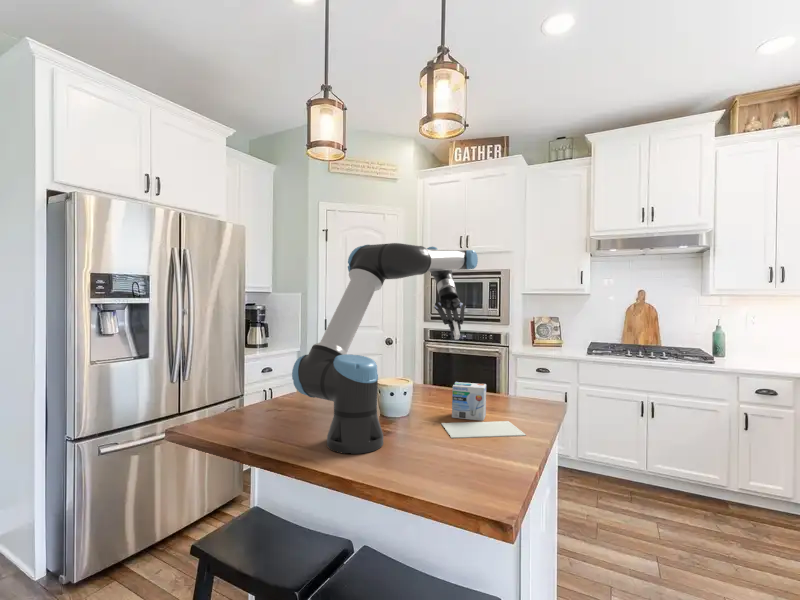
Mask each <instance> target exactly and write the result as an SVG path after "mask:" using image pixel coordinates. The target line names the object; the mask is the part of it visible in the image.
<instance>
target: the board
mask: <svg viewBox="0 0 800 600" xmlns="http://www.w3.org/2000/svg"><path fill="white" fill-rule="evenodd" d="M441 426H442V428H445V429H444V430H445V431H446V433H447V434H448V435H450V436H449V437H450V438H451V439H465V438H466V439H467V438H496V437H497V438H498V437H523V436H524V437H525V436H527V435H526V433H525V432H523V431H522V430H521V429H520V428H518V427H517V426H515V425H514V424H513V423H512V422H510V421H509V420H504V421H500V420H498V421H497V420H496V421H469V422H466V421H465V422H464V421H463V422H441Z"/></svg>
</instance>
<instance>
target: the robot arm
mask: <svg viewBox="0 0 800 600" xmlns="http://www.w3.org/2000/svg"><path fill="white" fill-rule="evenodd" d="M478 258H479V257H478V254H477V252H476V251H475V250H473V249H463V250H462V249H461V250H460V249H438V248H437V247H435V246H429V247H427V248H426V247H425V246H423V245H414V244H407V243H399V242H391V243H378V244H377V243H376V244H364V245H360V246H358V247H356V248H354V249H353V250H352V251H351V252H350V255H348V259H347V270H348V278H349V279H350V280H349V283H348V285H347V287H346V288H345V291H344V293H343V294H342V296H341V298H340V300H339V303H338V305H337V307H336V309H335V312H334V313H333V315H332V317H331V319H330V322H329V323H328V325H327V328H326V329H325V332H324V334H323V336H322V337H321V339H320V342H318V343H313V345H312V346H311V348H310V350H309V352H308V354H304V355H302V356H300V357H298V358H297V359H296V361H295V362H294V364H293V366H292V372H291V379H292V380H293V386H294V388H295V389H296V390H297V391H298V393H300V394H301V395H303V396H307V397H308V398H312V399H313V398H316V399H320V400H326V401H329V402H333V417H332V420H331V423H330V427H329V430H328V433H327V435H326V446H328V447H329V448H330V449H329V448H328V447H327V448H328V449H329V450H331V449H332V450H331V451H333V450H335V451H338V452H337V453H339V452H342V453H341V454H345V453H351V454H350V455H359V454H367V453H370V452H375V451H377V450H379V449H380V448H382V447H383V446H384V433H383V429H382V426H381V423H380V420H379V417H378V387H379V385H378V383H379V382H378V381H379V373H378V365H377V363H376V362H375V360H374V359H373V358H370V357H367V356H364V355H358V354H347V353H348V352H349V349H350V347H351V344H352V342H353V340H354V338H355V335H356V333H357V331H358V329H359V327H360V324H361V322H362V321H363V317H364V316H365V314H366V311H367V309H368V307H369V305H370V302H371V300H372V298H373V296H374V294H375V292H377V291H379V290H381V289H382V288H383V285H384V282H385V281H386V280H398V279H404V278H408V277H409V278H410V277H413V276H420V275H421V276H422V275H424V274H426V273H427V272H430V274H431V275H432V277H433V279H434V281H435V283H436V284H435V285H436V289H437V295H438V299H439V302H435V303H434V310H435V311H437V313H438V314H439V317H440V319H441V321H442V322H443V325H446V326H447V325H448V327H449V330H450V332H452V333H453V336H454V337H453V339H454V340H459V339H460V337H461V333H460V332H461V329H462V327H461V325H463V324H464V321H465V309H466V307H467V303H466V302H461V300H460V299H459V297H458V292H457V288H456V284H455V281H454V280H455V279H454V275H453V271H454V270H455V271H456V270H457V271H460V270H461V271H462V270H463V271H464V270H474V269H476V268H477V266H478V262H479V261H478V260H479V259H478ZM458 308H459V309H460V312H458ZM444 310H445V311H444ZM335 451H334V452H335Z"/></svg>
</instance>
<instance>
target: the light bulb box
mask: <svg viewBox="0 0 800 600" xmlns="http://www.w3.org/2000/svg"><path fill="white" fill-rule="evenodd" d="M451 392H452V394H451V395H452V396H451V418H452V419H463V420H471V421H478V422H485V421H484V420H485V417H487V416H486V415H487V384H486V383H474V382H472V383H471V382H463V381H462V382H459V381H455V382H454V384H453V385H452V391H451Z"/></svg>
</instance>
